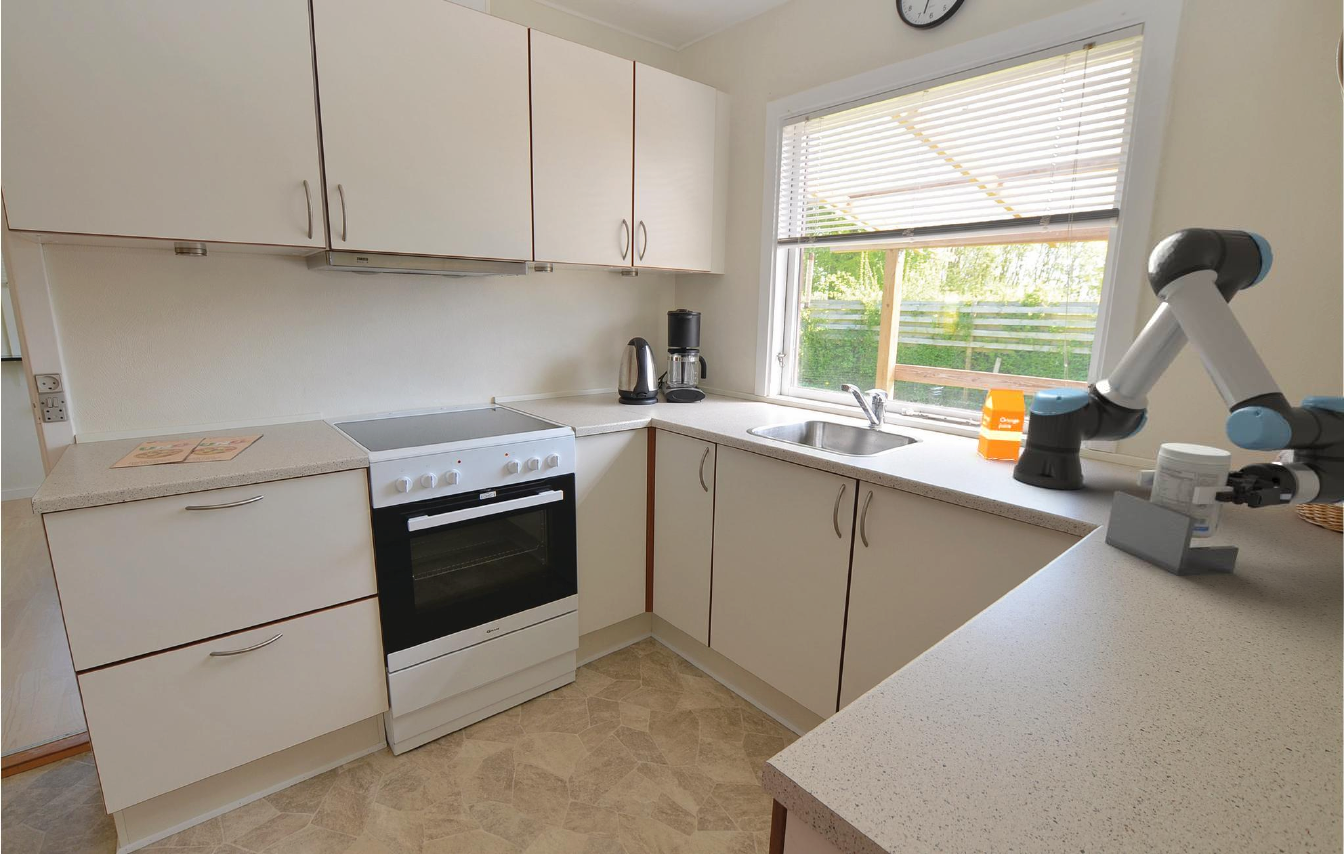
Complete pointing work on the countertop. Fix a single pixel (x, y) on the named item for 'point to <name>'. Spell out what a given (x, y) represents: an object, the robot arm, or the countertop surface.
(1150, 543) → the bracket
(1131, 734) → the countertop surface
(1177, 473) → the supplement tub
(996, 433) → the orange juice
